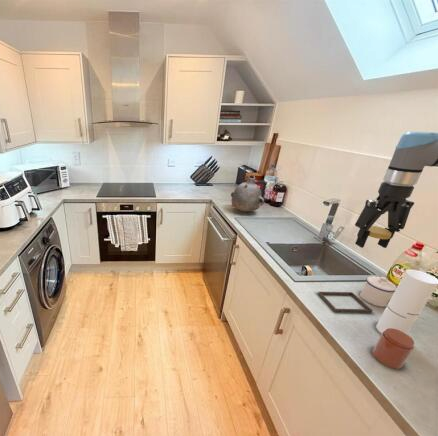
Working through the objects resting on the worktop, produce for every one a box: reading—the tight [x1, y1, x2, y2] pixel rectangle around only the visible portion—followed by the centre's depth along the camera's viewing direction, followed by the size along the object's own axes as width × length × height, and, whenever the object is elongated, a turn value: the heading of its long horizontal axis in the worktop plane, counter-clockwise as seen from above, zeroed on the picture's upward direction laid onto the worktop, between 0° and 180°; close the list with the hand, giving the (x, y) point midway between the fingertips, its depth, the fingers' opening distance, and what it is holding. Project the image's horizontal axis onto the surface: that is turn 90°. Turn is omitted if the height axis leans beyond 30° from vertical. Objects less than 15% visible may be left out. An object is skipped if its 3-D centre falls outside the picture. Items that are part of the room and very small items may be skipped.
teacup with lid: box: [359, 275, 397, 308], centre depth 97 cm, size 12×9×12 cm
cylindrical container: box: [375, 269, 438, 335], centre depth 78 cm, size 7×7×25 cm
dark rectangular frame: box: [317, 291, 373, 314], centre depth 96 cm, size 14×10×2 cm
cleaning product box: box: [242, 179, 268, 203], centre depth 205 cm, size 16×9×20 cm, turn 88°
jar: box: [372, 328, 415, 370], centre depth 72 cm, size 7×7×10 cm
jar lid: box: [368, 225, 392, 240], centre depth 82 cm, size 7×7×2 cm
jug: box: [230, 174, 265, 213], centre depth 184 cm, size 24×21×30 cm
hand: (370, 245), depth 84 cm, fingers closed on jar lid, 7 cm apart
